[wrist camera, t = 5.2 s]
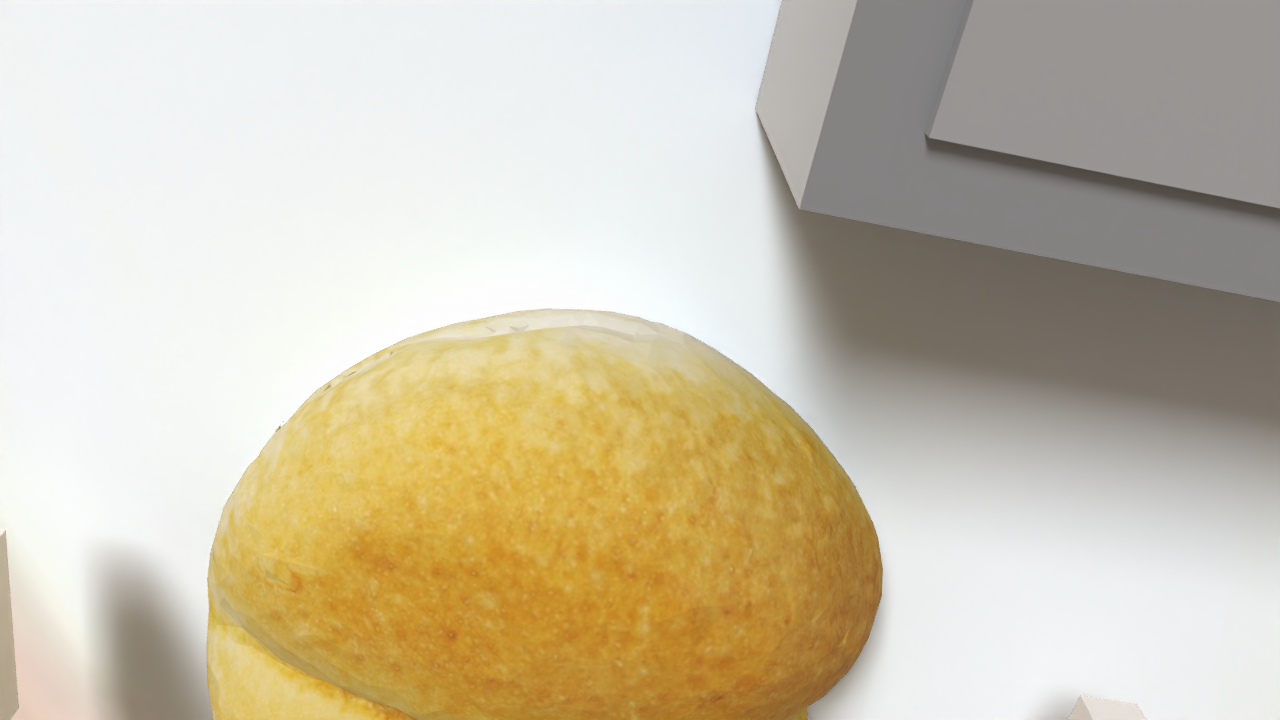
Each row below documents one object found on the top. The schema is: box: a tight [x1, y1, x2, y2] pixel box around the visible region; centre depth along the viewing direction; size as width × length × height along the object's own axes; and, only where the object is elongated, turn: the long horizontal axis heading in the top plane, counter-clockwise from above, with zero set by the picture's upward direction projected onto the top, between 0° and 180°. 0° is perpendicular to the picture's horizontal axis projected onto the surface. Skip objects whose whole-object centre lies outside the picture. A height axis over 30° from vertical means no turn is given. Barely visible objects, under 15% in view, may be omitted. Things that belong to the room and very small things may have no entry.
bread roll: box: [207, 309, 883, 720], centre depth 13 cm, size 8×9×4 cm
